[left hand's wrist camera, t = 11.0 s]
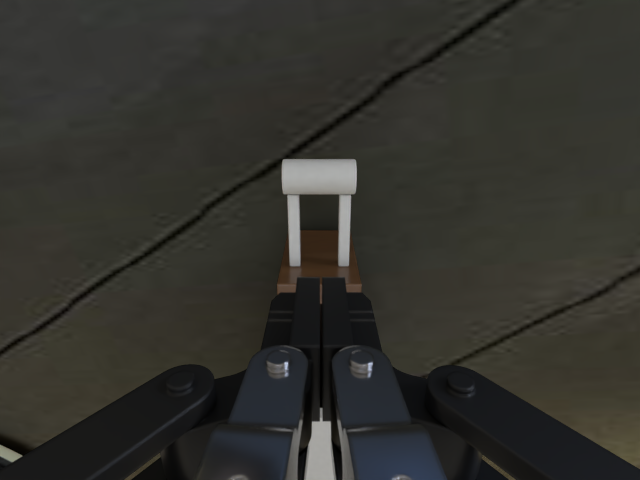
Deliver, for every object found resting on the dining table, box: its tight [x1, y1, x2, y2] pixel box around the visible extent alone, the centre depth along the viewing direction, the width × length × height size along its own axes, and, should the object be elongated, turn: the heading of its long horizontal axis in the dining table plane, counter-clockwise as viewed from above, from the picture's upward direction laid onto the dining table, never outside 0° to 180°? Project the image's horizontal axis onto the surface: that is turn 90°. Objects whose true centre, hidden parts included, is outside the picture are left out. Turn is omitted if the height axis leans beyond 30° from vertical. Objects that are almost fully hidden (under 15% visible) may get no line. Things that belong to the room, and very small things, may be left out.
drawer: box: [277, 159, 362, 408], centre depth 25 cm, size 22×4×8 cm, turn 0°
